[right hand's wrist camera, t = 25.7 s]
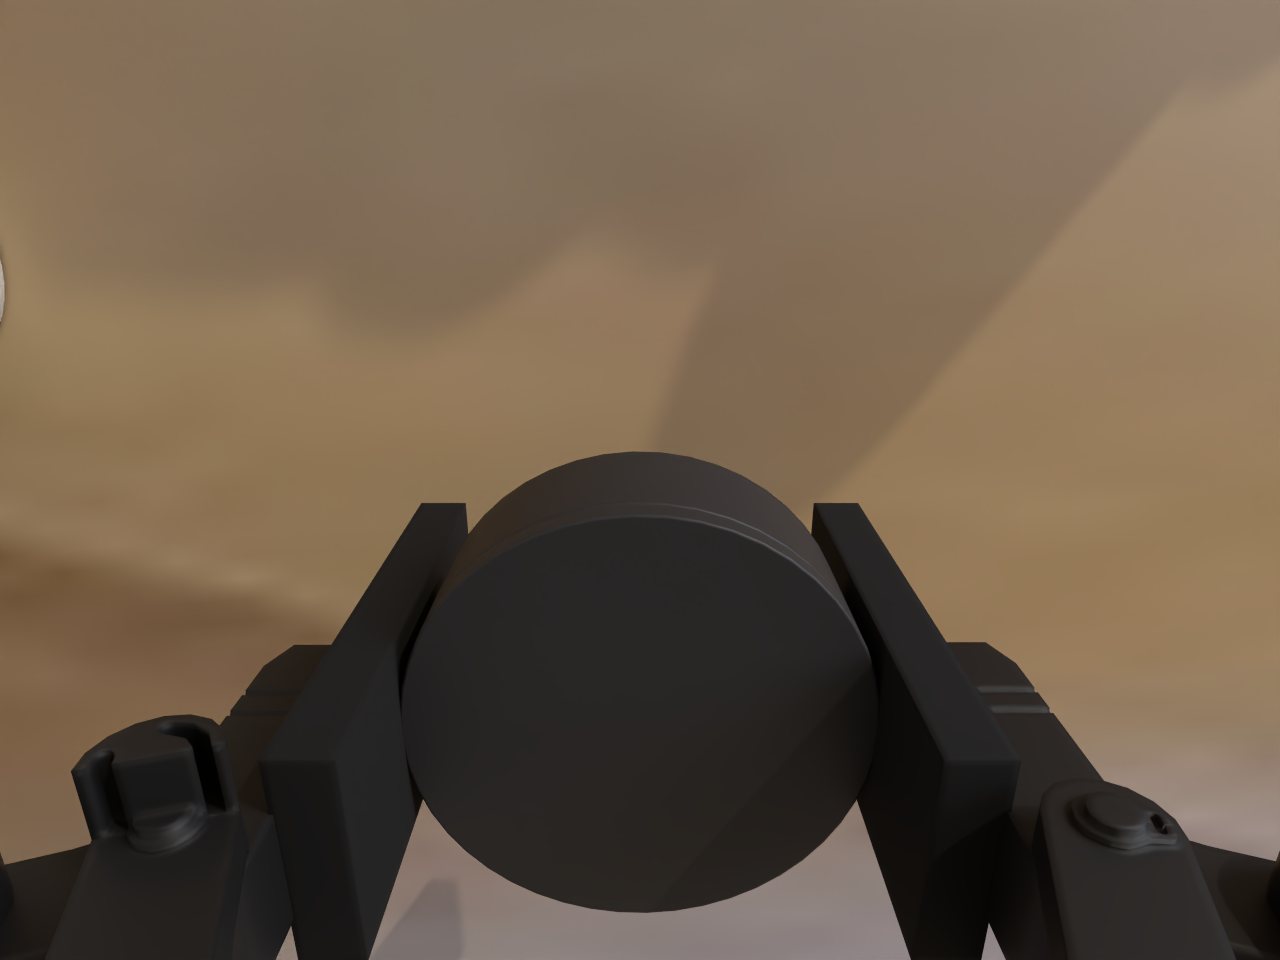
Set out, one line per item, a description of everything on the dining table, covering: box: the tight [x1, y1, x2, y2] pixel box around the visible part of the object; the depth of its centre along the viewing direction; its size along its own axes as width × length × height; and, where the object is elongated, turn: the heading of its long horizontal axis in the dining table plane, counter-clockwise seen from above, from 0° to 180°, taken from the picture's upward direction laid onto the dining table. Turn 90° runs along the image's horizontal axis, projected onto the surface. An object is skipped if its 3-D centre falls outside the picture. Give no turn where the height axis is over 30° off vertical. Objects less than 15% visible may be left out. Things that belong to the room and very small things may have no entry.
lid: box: [400, 452, 880, 913], centre depth 11 cm, size 6×6×2 cm
